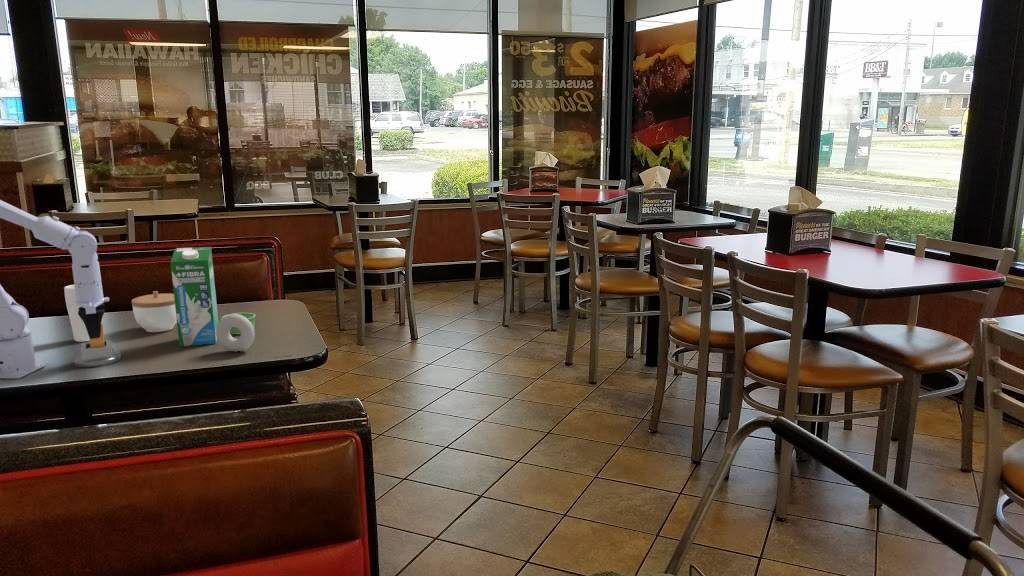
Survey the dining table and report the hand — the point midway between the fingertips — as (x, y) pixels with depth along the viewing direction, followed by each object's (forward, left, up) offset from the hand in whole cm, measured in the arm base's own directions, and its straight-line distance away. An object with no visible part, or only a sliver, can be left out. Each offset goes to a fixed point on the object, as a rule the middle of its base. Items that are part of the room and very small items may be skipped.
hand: (95, 336), depth 181 cm
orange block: (0, 0, -3) cm, 3 cm away
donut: (+8, -31, -7) cm, 33 cm away
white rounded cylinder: (+19, +15, -7) cm, 25 cm away
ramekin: (+28, -24, -7) cm, 38 cm away
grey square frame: (0, 0, -6) cm, 6 cm away
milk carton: (+18, -17, -7) cm, 26 cm away
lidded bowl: (+30, 0, -7) cm, 31 cm away
